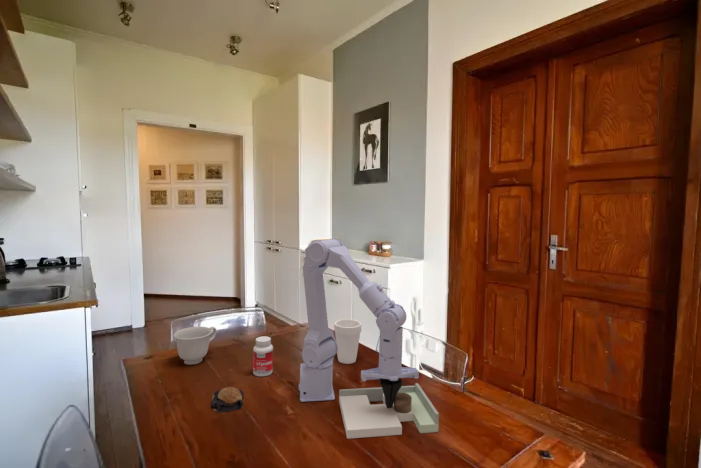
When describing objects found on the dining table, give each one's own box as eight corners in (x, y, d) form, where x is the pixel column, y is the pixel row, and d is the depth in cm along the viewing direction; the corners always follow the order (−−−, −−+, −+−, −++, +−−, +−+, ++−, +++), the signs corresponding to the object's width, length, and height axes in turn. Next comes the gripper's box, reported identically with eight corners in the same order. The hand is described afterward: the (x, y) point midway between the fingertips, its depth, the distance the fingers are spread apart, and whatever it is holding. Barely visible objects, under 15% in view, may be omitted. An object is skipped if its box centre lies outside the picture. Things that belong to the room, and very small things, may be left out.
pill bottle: (254, 378, 109) (254, 343, 109) (251, 370, 115) (251, 336, 114) (274, 375, 112) (275, 340, 111) (271, 367, 117) (271, 334, 117)
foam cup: (365, 359, 125) (366, 323, 124) (348, 368, 118) (349, 329, 117) (345, 352, 131) (346, 317, 130) (328, 359, 124) (328, 323, 123)
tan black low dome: (211, 396, 100) (211, 383, 99) (242, 391, 103) (242, 378, 103) (211, 417, 90) (211, 403, 90) (246, 410, 93) (246, 397, 93)
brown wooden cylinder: (395, 413, 89) (395, 402, 88) (391, 403, 93) (392, 392, 93) (413, 413, 89) (413, 401, 89) (408, 403, 94) (409, 392, 93)
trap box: (347, 438, 82) (347, 419, 81) (338, 401, 97) (339, 385, 97) (438, 431, 85) (439, 413, 85) (416, 397, 100) (417, 382, 100)
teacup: (226, 356, 125) (226, 328, 124) (187, 372, 112) (187, 341, 112) (205, 348, 131) (205, 322, 131) (166, 362, 119) (165, 333, 118)
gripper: (365, 361, 85) (363, 416, 86) (423, 359, 87) (421, 413, 88) (360, 350, 92) (358, 401, 93) (414, 348, 94) (412, 397, 95)
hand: (388, 405), depth 91 cm, fingers closed
